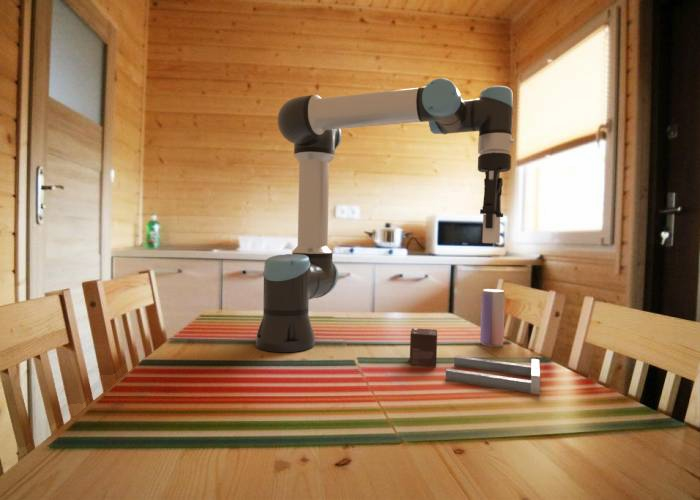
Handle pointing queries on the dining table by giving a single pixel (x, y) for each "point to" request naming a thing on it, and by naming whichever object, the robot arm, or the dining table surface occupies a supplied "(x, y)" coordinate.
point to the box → (423, 347)
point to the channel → (493, 380)
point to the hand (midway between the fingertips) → (491, 243)
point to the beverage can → (492, 317)
